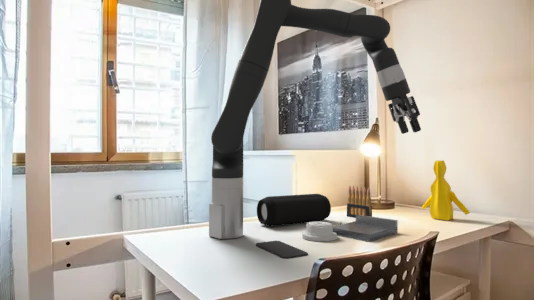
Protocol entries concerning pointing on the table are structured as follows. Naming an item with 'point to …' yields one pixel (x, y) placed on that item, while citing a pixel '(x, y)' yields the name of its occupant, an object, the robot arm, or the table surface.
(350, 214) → the ammunition clip
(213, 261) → the table surface
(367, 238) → the plate
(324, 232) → the mechanical component
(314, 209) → the portable speaker
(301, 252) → the phone
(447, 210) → the figure statuette
